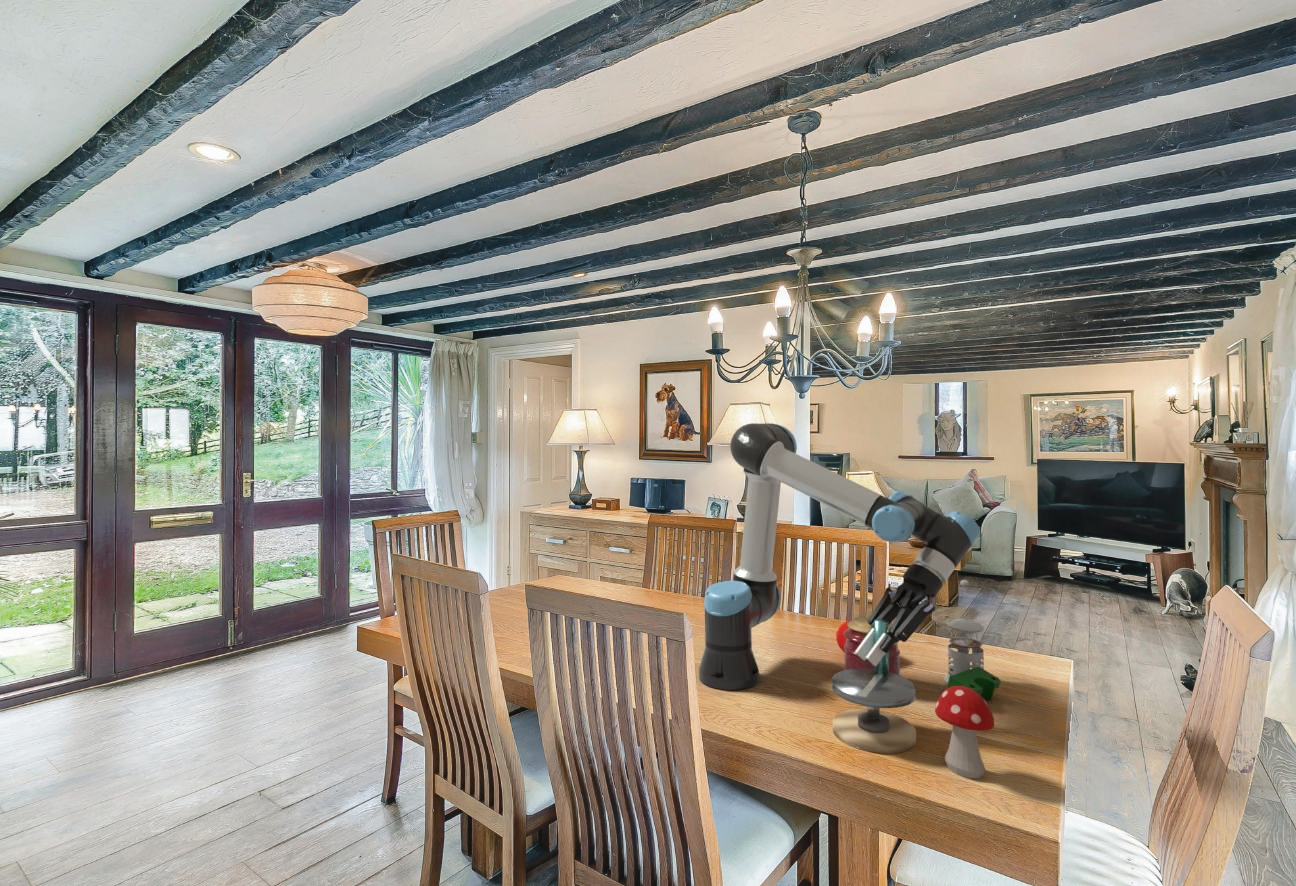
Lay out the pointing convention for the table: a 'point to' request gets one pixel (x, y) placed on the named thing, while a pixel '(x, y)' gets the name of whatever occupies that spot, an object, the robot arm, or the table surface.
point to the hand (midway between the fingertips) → (865, 658)
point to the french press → (964, 645)
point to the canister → (855, 638)
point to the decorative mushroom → (964, 729)
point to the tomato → (842, 635)
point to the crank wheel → (874, 683)
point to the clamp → (976, 681)
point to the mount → (874, 731)
